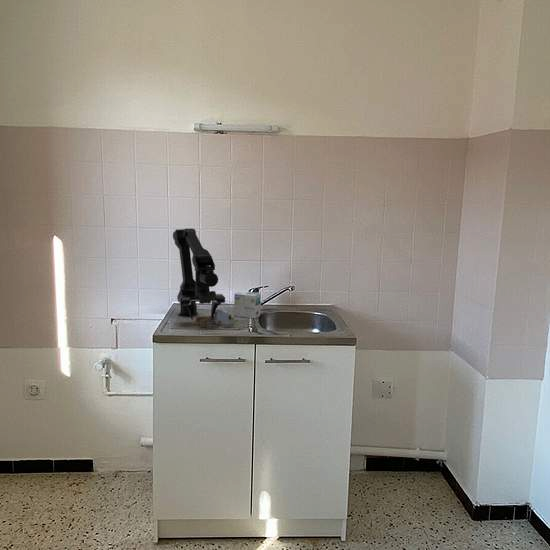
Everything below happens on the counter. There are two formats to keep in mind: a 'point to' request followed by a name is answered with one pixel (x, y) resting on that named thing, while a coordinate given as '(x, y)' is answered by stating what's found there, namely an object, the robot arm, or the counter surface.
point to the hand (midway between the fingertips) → (202, 319)
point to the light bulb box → (247, 304)
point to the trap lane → (208, 318)
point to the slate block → (221, 316)
